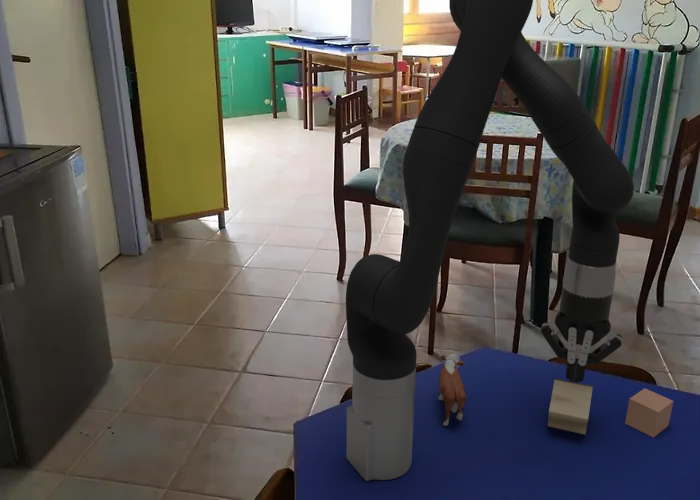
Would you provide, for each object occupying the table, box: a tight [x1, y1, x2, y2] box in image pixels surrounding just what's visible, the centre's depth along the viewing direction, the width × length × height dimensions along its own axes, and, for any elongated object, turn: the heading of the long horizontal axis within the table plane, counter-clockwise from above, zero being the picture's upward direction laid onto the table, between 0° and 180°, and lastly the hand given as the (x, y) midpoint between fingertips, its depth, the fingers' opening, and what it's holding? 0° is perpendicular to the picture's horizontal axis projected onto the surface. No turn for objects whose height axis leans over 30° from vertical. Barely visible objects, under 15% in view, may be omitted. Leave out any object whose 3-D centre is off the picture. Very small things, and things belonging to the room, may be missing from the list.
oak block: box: [547, 377, 594, 435], centre depth 111 cm, size 6×6×6 cm
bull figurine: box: [438, 353, 467, 427], centre depth 116 cm, size 4×13×8 cm, turn 174°
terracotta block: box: [624, 387, 674, 438], centre depth 113 cm, size 5×5×5 cm
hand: (573, 381), depth 112 cm, fingers closed
